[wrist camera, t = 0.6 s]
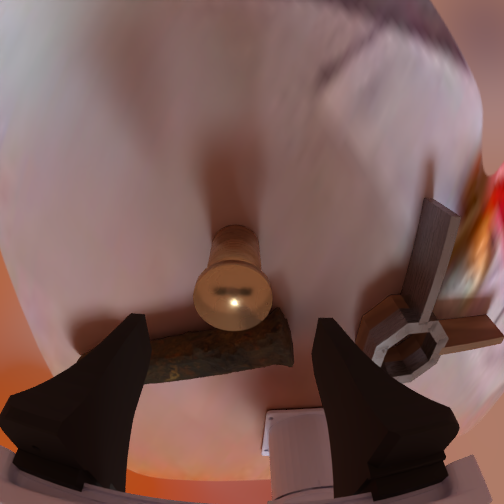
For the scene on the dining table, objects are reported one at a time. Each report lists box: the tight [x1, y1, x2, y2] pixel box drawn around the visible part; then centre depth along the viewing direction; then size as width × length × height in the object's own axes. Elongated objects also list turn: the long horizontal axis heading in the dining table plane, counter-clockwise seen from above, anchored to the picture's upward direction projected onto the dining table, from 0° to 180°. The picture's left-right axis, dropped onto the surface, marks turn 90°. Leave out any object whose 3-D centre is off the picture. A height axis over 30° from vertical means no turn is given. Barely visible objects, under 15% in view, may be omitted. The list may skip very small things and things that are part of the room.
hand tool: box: [77, 308, 294, 384], centre depth 22 cm, size 19×4×5 cm, turn 103°
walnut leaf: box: [355, 295, 504, 362], centre depth 23 cm, size 6×14×4 cm, turn 88°
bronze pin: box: [193, 225, 272, 331], centre depth 18 cm, size 4×4×6 cm
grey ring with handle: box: [363, 198, 461, 383], centre depth 21 cm, size 14×6×4 cm, turn 178°
